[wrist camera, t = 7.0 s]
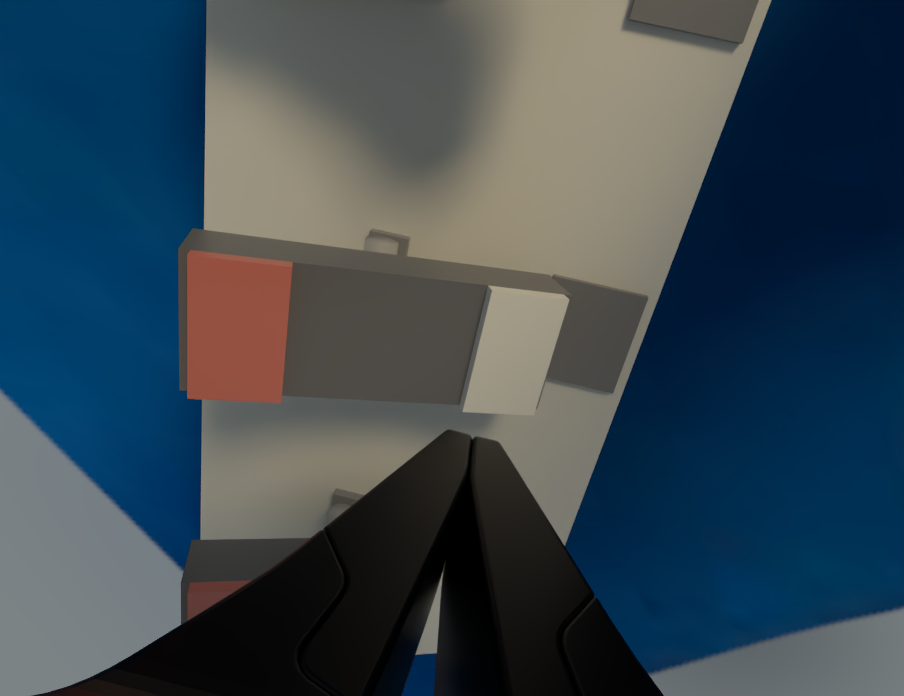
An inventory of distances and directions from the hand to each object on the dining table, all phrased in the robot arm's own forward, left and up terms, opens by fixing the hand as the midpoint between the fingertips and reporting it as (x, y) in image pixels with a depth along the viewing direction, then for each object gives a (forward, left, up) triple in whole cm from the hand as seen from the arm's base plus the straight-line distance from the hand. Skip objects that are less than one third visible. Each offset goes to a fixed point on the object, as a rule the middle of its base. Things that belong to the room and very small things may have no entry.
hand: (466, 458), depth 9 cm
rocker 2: (+3, 0, -6) cm, 6 cm away
